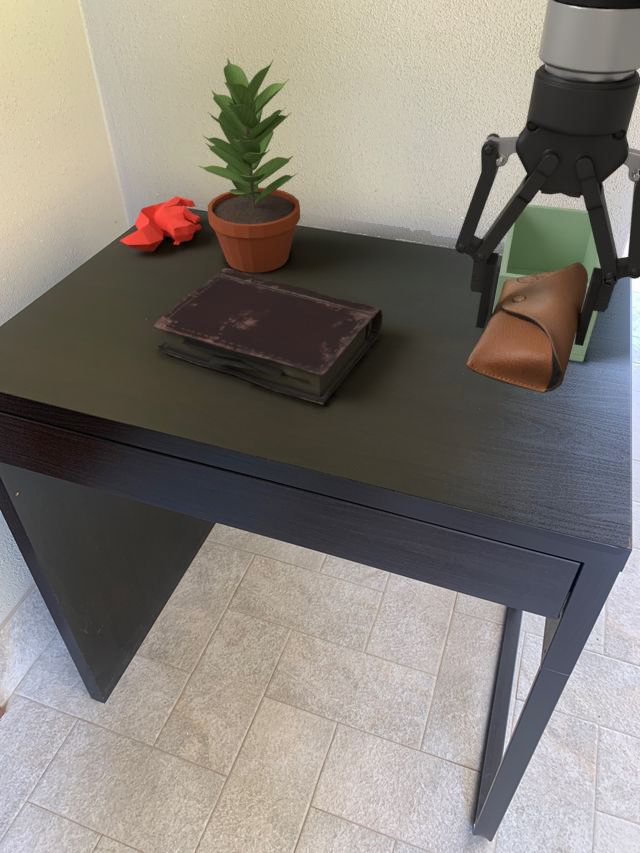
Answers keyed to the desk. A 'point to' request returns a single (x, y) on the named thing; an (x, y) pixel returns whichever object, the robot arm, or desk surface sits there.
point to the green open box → (549, 250)
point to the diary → (271, 333)
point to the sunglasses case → (532, 329)
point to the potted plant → (250, 178)
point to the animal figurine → (163, 224)
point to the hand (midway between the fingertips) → (530, 328)
